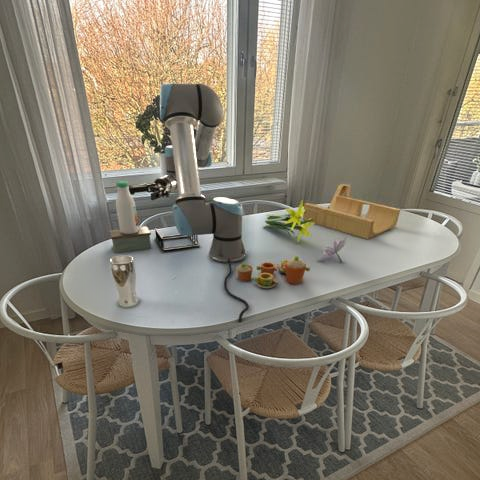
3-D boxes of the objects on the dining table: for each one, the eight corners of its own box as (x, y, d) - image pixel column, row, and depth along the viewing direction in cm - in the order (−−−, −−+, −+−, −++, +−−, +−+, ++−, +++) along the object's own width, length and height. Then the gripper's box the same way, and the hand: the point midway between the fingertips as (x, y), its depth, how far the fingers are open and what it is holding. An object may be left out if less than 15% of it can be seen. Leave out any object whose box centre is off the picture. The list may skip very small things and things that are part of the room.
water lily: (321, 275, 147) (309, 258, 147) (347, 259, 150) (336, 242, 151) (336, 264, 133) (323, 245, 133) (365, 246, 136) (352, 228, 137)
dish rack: (199, 247, 152) (198, 235, 149) (163, 252, 147) (162, 239, 144) (188, 235, 165) (187, 223, 162) (155, 239, 160) (153, 227, 156)
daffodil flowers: (285, 225, 184) (331, 226, 154) (266, 243, 181) (309, 248, 151) (268, 199, 175) (314, 195, 145) (249, 218, 172) (291, 217, 143)
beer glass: (120, 297, 114) (112, 254, 106) (141, 296, 114) (135, 254, 106) (115, 308, 108) (106, 264, 100) (138, 307, 109) (131, 264, 100)
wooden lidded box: (152, 248, 150) (150, 232, 146) (114, 253, 144) (111, 237, 140) (148, 241, 156) (146, 226, 152) (112, 246, 151) (108, 230, 147)
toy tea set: (291, 266, 138) (294, 243, 133) (312, 282, 126) (316, 258, 121) (231, 275, 129) (231, 251, 124) (247, 294, 117) (248, 268, 112)
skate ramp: (302, 221, 190) (305, 191, 181) (338, 208, 210) (343, 180, 201) (367, 241, 166) (374, 207, 157) (401, 224, 186) (409, 194, 177)
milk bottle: (134, 235, 143) (126, 184, 132) (116, 233, 144) (107, 183, 133) (142, 229, 149) (135, 180, 138) (125, 227, 150) (117, 179, 139)
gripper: (188, 196, 161) (164, 207, 144) (143, 190, 168) (115, 200, 152) (187, 179, 157) (162, 189, 140) (141, 174, 164) (112, 183, 148)
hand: (137, 195), depth 146 cm, fingers open, 13 cm apart
